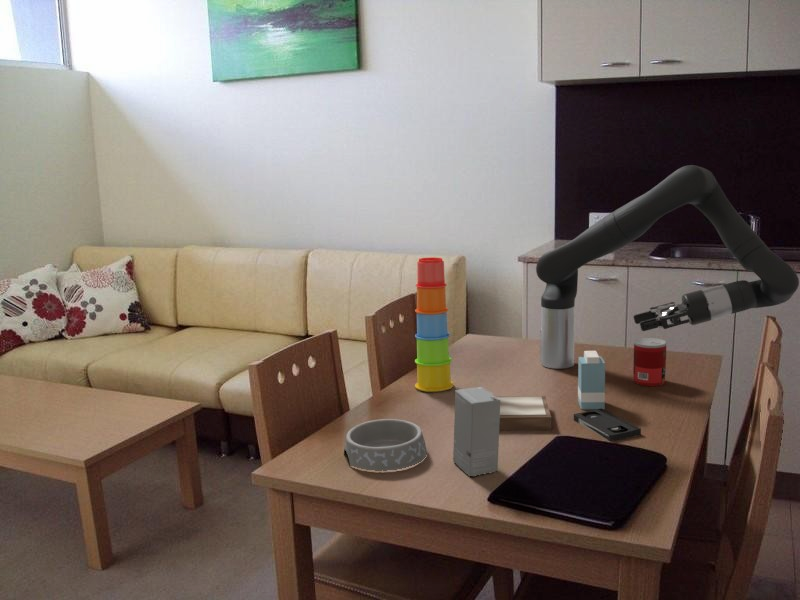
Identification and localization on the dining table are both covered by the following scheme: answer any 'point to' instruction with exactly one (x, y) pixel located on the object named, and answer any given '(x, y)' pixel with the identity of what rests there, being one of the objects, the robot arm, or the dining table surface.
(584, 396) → the carton
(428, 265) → the stacking cups
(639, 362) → the canned food
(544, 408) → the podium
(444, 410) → the dining table surface
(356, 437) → the dog bowl
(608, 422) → the vhs tape
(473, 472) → the skincare box
